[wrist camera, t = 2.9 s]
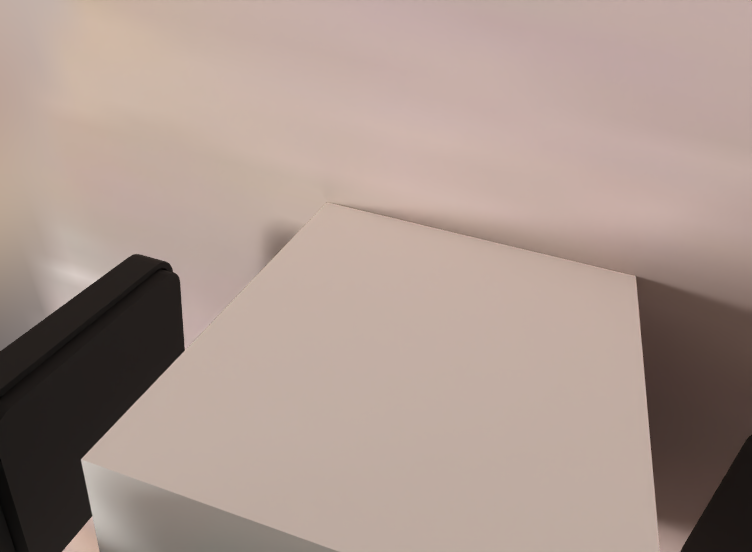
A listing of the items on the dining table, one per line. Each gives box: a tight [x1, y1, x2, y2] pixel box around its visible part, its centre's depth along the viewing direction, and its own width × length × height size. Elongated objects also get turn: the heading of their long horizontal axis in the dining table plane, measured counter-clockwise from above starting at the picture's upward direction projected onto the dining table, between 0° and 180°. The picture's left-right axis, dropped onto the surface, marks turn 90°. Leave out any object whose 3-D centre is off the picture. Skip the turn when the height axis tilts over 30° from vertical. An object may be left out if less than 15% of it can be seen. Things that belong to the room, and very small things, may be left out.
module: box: [81, 202, 660, 552], centre depth 9 cm, size 5×5×7 cm
